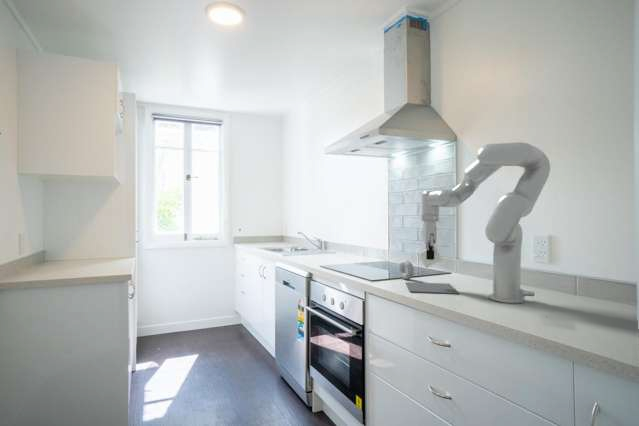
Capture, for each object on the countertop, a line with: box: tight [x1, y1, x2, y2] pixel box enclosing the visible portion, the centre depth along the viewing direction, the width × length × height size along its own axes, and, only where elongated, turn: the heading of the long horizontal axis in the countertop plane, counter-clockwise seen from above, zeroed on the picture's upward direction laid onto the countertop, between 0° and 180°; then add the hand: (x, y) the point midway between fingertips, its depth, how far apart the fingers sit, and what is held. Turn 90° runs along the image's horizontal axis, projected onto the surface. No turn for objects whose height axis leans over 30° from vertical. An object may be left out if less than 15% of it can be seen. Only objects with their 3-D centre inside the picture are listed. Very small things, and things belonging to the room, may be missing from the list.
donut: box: [397, 259, 415, 280], centre depth 185 cm, size 10×4×10 cm, turn 27°
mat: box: [405, 281, 460, 295], centre depth 163 cm, size 20×20×1 cm
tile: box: [418, 245, 443, 268], centre depth 165 cm, size 8×2×7 cm, turn 82°
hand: (429, 258), depth 165 cm, fingers closed on tile, 1 cm apart
